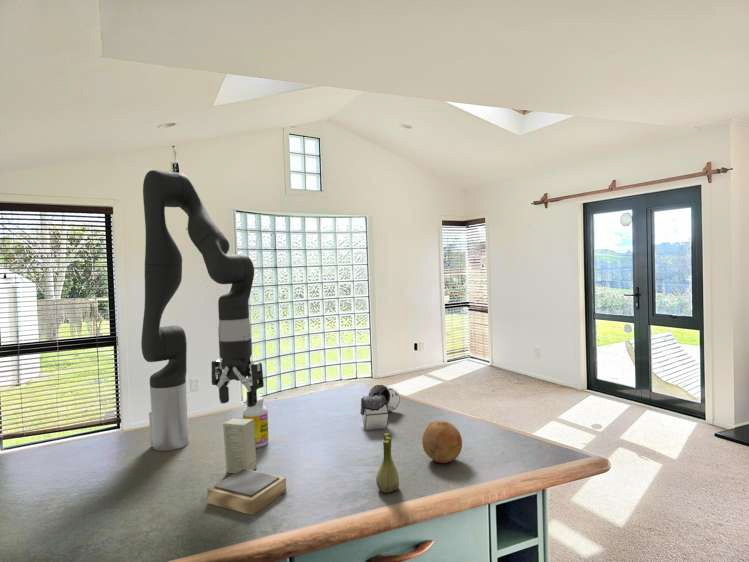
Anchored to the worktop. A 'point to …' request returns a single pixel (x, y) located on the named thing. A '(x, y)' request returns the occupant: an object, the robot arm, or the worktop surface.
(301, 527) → the worktop surface
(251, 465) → the skincare box
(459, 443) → the onion
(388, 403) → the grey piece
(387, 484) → the fennel bulb
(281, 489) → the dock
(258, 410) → the supplement bottle
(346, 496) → the worktop surface
